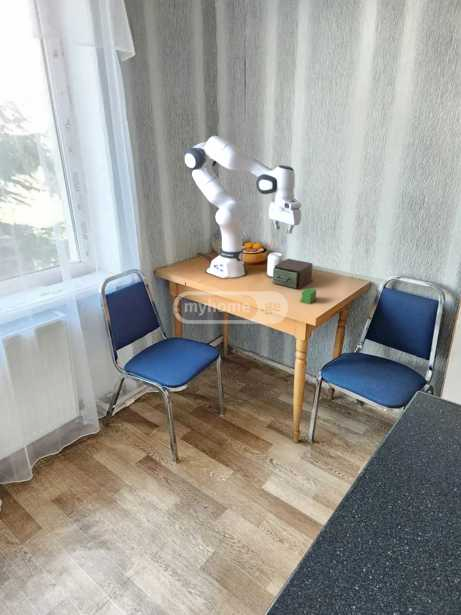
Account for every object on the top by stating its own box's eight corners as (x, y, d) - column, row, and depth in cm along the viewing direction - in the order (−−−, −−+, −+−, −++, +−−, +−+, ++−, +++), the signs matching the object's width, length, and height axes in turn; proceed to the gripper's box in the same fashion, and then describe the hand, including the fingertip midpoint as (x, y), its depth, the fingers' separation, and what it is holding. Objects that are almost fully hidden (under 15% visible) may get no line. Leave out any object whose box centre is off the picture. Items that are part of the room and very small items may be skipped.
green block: (310, 303, 185) (310, 293, 183) (301, 301, 188) (302, 291, 186) (315, 299, 190) (316, 289, 188) (307, 297, 192) (307, 287, 190)
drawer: (291, 291, 197) (292, 276, 194) (268, 285, 204) (268, 271, 201) (307, 280, 211) (308, 266, 207) (285, 275, 218) (286, 261, 215)
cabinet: (298, 288, 202) (299, 270, 198) (273, 282, 210) (274, 265, 206) (311, 280, 213) (312, 263, 209) (287, 275, 221) (288, 258, 217)
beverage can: (281, 278, 217) (282, 257, 212) (266, 277, 218) (267, 256, 213) (282, 273, 224) (283, 252, 219) (268, 272, 225) (268, 251, 220)
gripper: (265, 199, 193) (265, 228, 199) (293, 206, 177) (291, 236, 183) (276, 198, 196) (275, 226, 202) (303, 204, 180) (302, 234, 186)
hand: (283, 231), depth 192 cm, fingers open, 8 cm apart
